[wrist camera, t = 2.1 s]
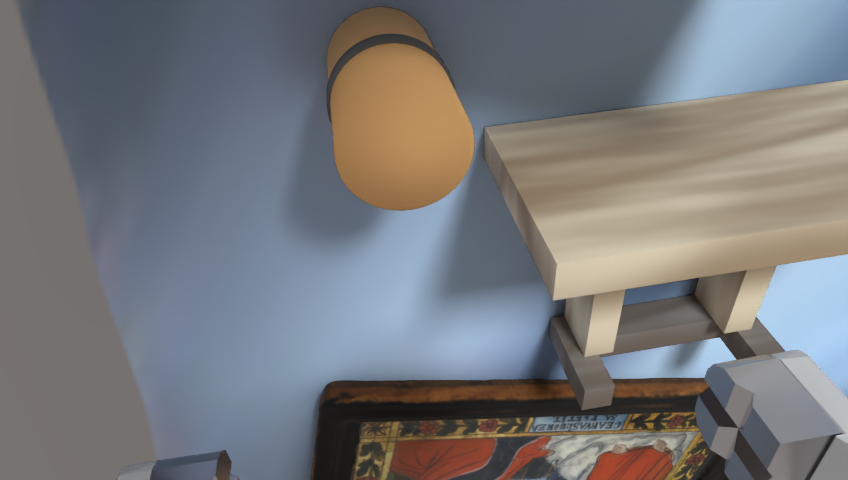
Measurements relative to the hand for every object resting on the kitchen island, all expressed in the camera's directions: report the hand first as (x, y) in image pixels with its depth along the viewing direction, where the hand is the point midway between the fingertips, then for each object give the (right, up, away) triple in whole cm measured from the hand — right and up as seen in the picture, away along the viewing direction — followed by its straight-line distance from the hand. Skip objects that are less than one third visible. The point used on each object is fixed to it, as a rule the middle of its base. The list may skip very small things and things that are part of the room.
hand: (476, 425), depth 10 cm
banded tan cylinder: (-3, +10, +12) cm, 16 cm away
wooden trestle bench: (+11, +4, +20) cm, 23 cm away
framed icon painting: (+6, -19, +37) cm, 42 cm away
